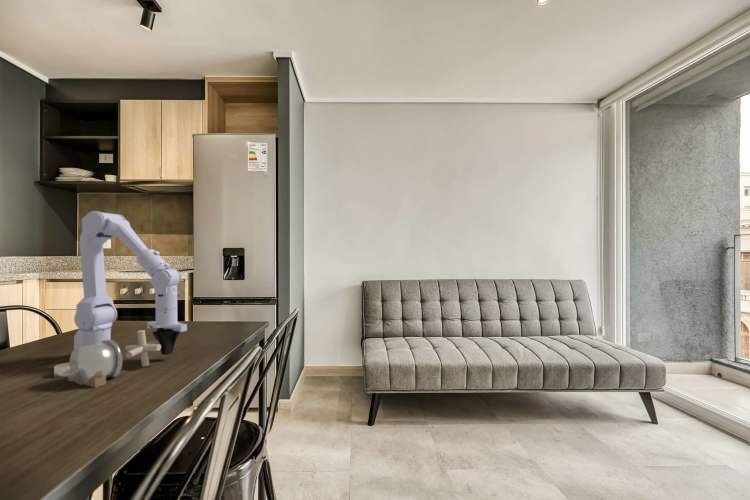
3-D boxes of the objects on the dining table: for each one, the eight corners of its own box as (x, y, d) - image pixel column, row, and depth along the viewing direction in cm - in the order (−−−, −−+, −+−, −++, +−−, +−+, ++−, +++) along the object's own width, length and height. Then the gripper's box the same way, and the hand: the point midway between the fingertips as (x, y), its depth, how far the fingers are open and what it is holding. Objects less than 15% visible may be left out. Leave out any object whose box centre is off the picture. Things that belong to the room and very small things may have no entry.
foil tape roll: (49, 375, 95) (49, 365, 95) (71, 370, 100) (72, 360, 100) (60, 378, 93) (61, 368, 93) (83, 372, 98) (83, 363, 98)
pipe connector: (147, 372, 99) (142, 336, 98) (115, 373, 100) (110, 337, 99) (173, 358, 108) (169, 325, 108) (143, 359, 110) (139, 326, 109)
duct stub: (66, 382, 91) (67, 343, 91) (97, 374, 98) (98, 337, 98) (93, 389, 87) (94, 348, 87) (123, 380, 93) (124, 341, 93)
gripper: (137, 309, 109) (137, 354, 109) (171, 311, 104) (172, 359, 104) (159, 306, 116) (159, 349, 116) (192, 308, 110) (193, 353, 110)
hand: (167, 353), depth 110 cm, fingers closed
